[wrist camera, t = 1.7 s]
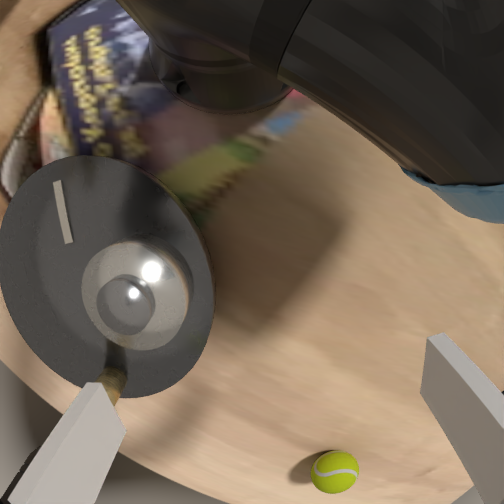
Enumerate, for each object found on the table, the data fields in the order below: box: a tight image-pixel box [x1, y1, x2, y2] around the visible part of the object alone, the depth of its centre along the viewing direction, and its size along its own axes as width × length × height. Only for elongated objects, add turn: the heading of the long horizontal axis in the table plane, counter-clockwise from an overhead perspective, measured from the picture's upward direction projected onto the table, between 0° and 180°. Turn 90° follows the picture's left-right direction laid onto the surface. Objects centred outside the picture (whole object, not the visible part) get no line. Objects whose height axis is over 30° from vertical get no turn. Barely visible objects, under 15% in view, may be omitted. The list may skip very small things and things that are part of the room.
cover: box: [81, 234, 194, 350], centre depth 24 cm, size 9×9×6 cm
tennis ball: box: [311, 450, 359, 494], centre depth 34 cm, size 7×7×7 cm
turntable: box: [0, 155, 216, 407], centre depth 26 cm, size 26×26×7 cm
